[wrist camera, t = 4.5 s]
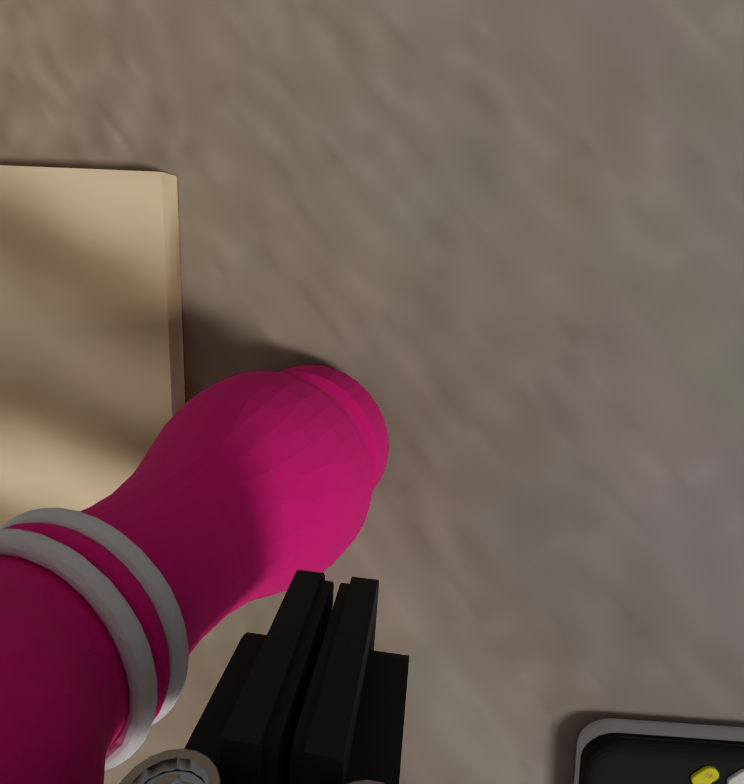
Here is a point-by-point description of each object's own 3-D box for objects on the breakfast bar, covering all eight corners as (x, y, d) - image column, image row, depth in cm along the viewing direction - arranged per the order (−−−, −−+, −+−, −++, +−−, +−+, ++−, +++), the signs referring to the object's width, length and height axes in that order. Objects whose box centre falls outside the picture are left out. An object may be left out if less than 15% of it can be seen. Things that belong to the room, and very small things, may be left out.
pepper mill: (273, 531, 24) (-631, 1441, 6) (216, 378, 23) (-1102, 854, 5) (425, 500, 22) (-298, 1980, 3) (367, 328, 21) (-1180, 924, 2)
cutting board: (193, 618, 26) (181, 635, 25) (-105, 579, 28) (-128, 593, 27) (176, 176, 21) (161, 171, 20) (-187, 161, 23) (-220, 156, 22)
